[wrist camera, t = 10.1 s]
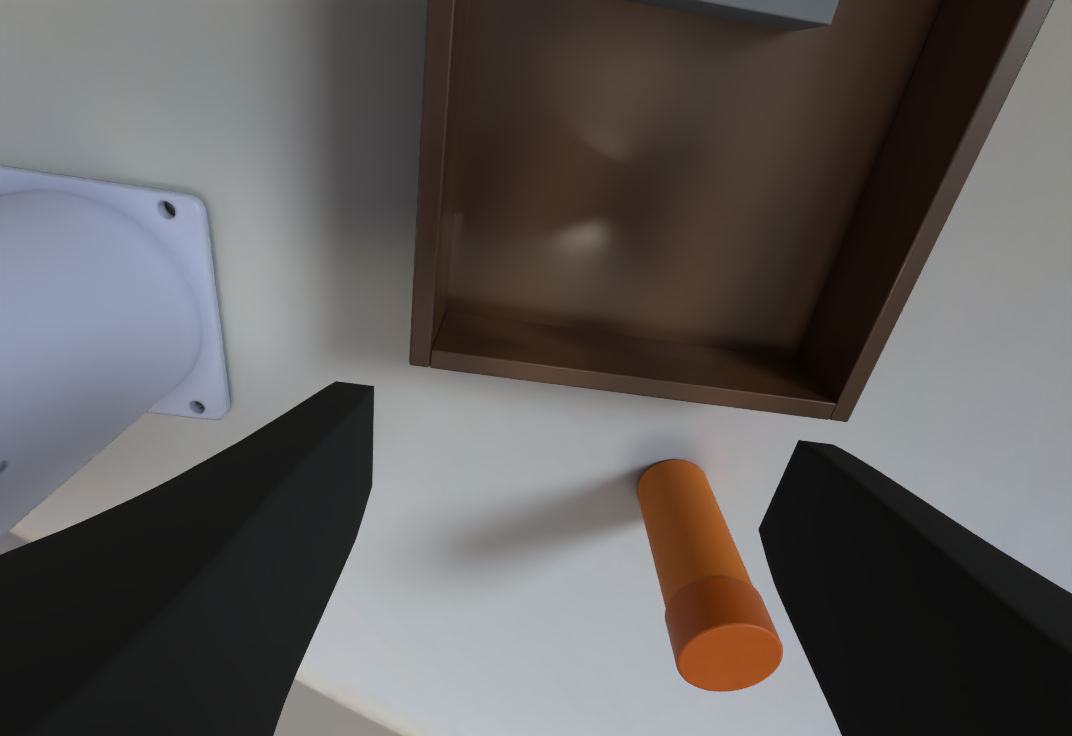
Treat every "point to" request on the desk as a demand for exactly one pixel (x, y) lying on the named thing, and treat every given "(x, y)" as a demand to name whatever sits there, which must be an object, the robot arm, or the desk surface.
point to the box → (693, 189)
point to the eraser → (759, 11)
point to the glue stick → (705, 583)
